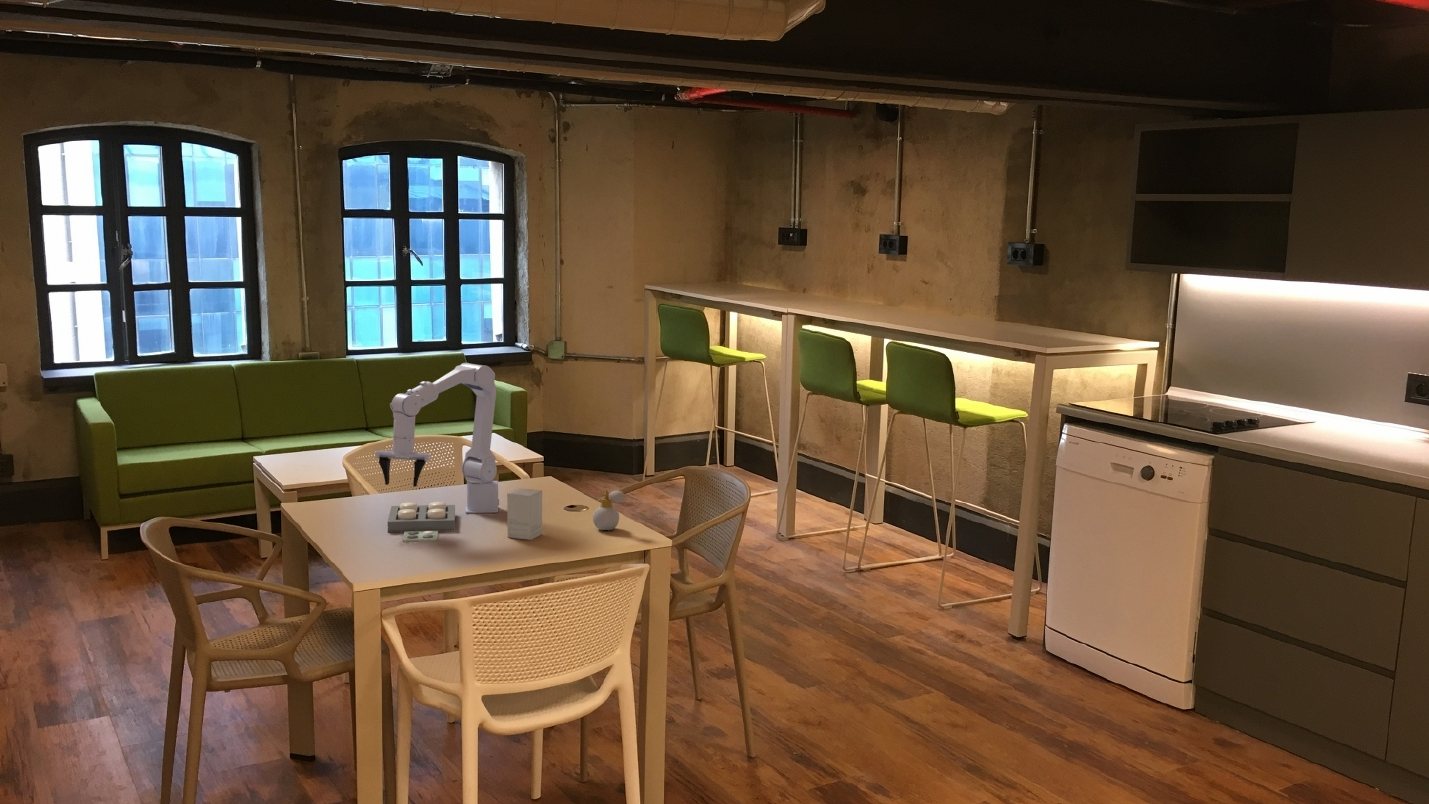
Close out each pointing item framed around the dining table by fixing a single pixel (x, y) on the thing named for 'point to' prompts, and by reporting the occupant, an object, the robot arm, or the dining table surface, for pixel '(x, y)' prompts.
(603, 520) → the perfume bottle
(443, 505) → the button
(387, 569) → the dining table surface
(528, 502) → the supplement box
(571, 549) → the dining table surface
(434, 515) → the button
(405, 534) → the tile
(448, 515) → the button board
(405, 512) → the button
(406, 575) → the dining table surface
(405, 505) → the button
